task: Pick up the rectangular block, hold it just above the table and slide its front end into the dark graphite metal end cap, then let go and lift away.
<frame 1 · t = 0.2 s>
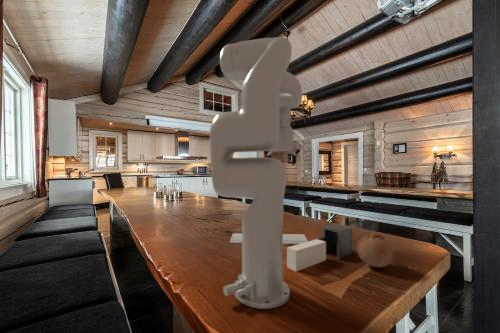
hand: (281, 165, 97), 31 cm above the table, tool pointing down, fingers open, 9 cm apart
rectangular block: (307, 264, 70), on the table
baseboard molding: (268, 242, 94), on the table
end cap: (336, 252, 79), on the table
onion: (374, 267, 67), on the table
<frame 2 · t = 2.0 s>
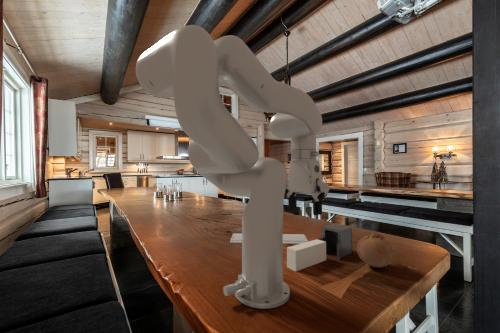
hand: (304, 212, 70), 16 cm above the table, tool pointing down, fingers open, 9 cm apart
nothing on the table moved.
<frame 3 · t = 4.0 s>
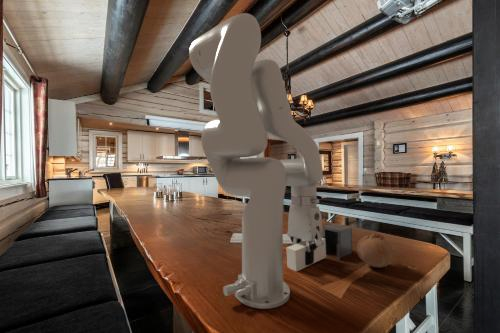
hand: (304, 261, 69), 1 cm above the table, tool pointing down, fingers closed on rectangular block, 3 cm apart
rectangular block: (307, 262, 70), on the table, touching gripper
everything else where it was.
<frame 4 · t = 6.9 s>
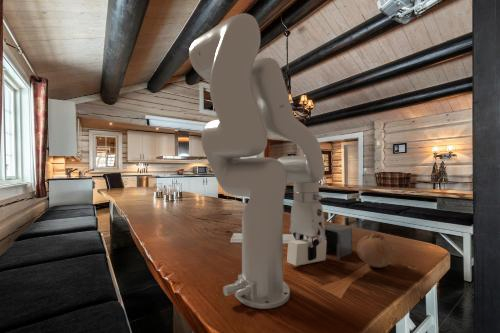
hand: (306, 256, 70), 2 cm above the table, tool pointing down, fingers closed on rectangular block, 3 cm apart
rectangular block: (306, 260, 70), point 1 cm above the table, tilted 7°, touching gripper
everything else where it was.
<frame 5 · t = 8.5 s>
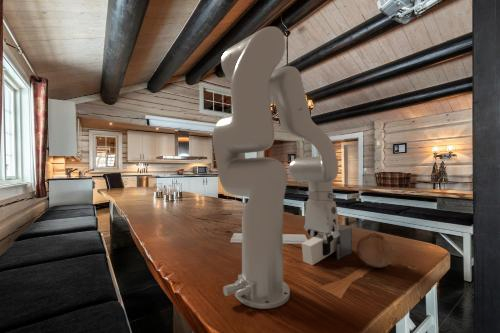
hand: (320, 252, 74), 2 cm above the table, tool pointing down, fingers closed on rectangular block, 3 cm apart
rectangular block: (321, 255, 74), point 1 cm above the table, tilted 9°, touching gripper
everything else where it was.
when the fingers open (2 cm above the table, at t = 9.7 s): rectangular block drops 1 cm, on the table.
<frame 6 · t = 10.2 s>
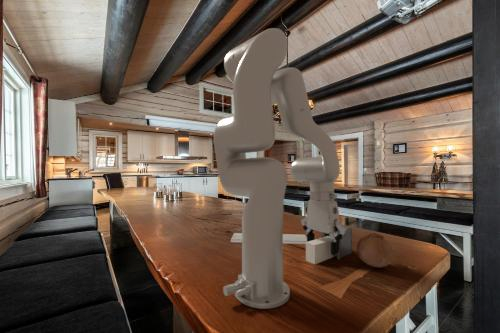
hand: (322, 249, 75), 3 cm above the table, tool pointing down, fingers open, 8 cm apart
rectangular block: (324, 257, 75), on the table
everything else where it was.
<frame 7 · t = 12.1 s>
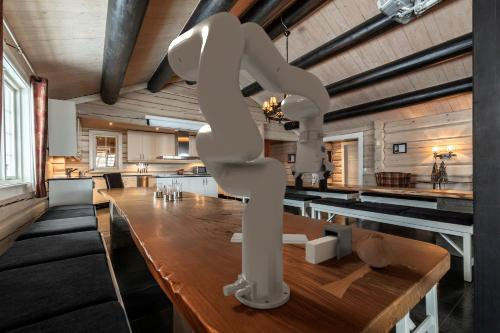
hand: (310, 191, 74), 22 cm above the table, tool pointing down, fingers open, 9 cm apart
nothing on the table moved.
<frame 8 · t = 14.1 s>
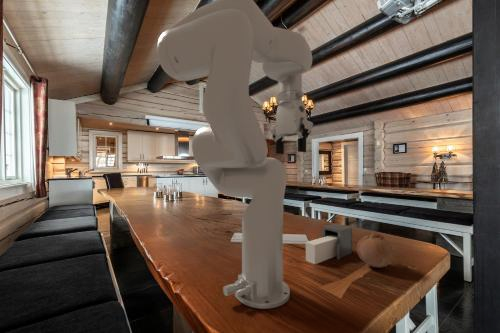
hand: (290, 152, 73), 34 cm above the table, tool pointing down, fingers open, 9 cm apart
nothing on the table moved.
at the end: rectangular block 0.5 cm from the target spot on the table beside the end cap, on the table; rectangular block tilted 0°; the gripper is holding nothing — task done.
